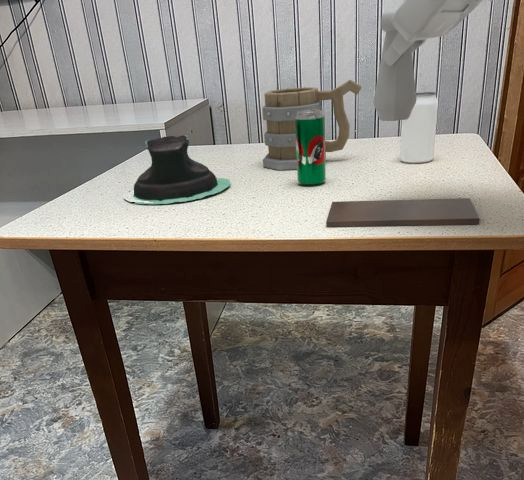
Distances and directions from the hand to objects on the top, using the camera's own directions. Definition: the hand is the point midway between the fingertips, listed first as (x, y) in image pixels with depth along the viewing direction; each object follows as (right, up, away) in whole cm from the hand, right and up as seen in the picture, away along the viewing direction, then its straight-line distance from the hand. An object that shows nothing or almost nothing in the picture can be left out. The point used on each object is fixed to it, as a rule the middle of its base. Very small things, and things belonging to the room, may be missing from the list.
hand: (392, 60), depth 71 cm
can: (+13, -1, +35) cm, 37 cm away
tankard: (-7, +1, +41) cm, 42 cm away
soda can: (-8, -9, +25) cm, 28 cm away
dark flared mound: (-33, -9, +29) cm, 45 cm away
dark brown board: (+2, -19, +5) cm, 20 cm away
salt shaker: (+1, -6, +3) cm, 7 cm away
